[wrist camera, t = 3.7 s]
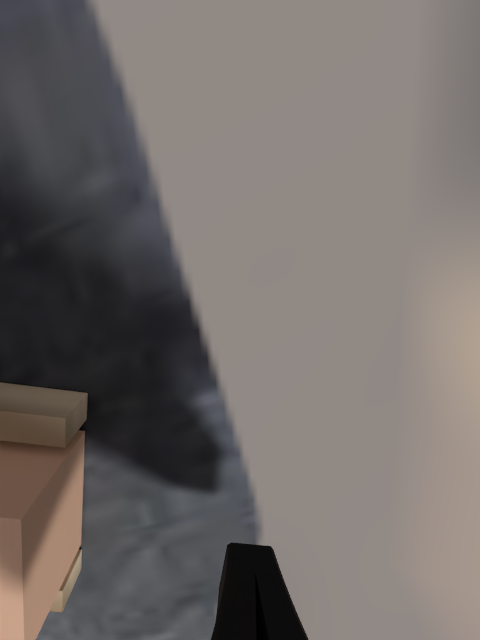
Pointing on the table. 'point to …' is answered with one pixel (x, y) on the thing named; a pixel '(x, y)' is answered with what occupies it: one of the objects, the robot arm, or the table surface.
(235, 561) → the robot arm
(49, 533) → the terracotta block
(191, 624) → the table surface
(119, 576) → the table surface
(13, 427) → the birch chute
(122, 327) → the table surface
